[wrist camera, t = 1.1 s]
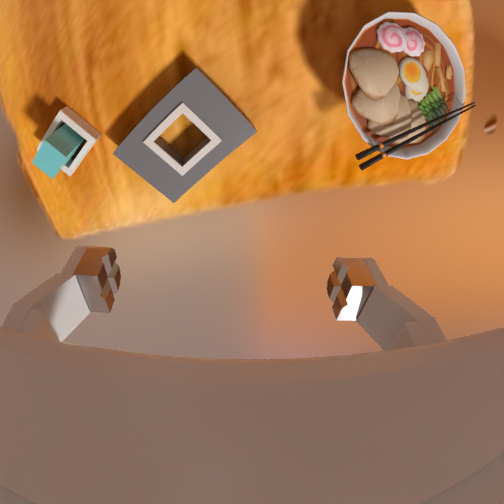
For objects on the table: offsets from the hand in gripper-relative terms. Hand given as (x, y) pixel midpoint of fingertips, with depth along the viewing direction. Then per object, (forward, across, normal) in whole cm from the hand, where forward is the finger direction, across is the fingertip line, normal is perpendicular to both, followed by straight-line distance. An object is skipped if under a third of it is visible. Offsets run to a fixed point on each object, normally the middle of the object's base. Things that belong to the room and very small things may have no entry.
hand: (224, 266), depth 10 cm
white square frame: (+31, +24, +3) cm, 39 cm away
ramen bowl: (+35, -23, -9) cm, 43 cm away
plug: (+31, +24, +3) cm, 39 cm away
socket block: (+32, +6, +4) cm, 33 cm away
